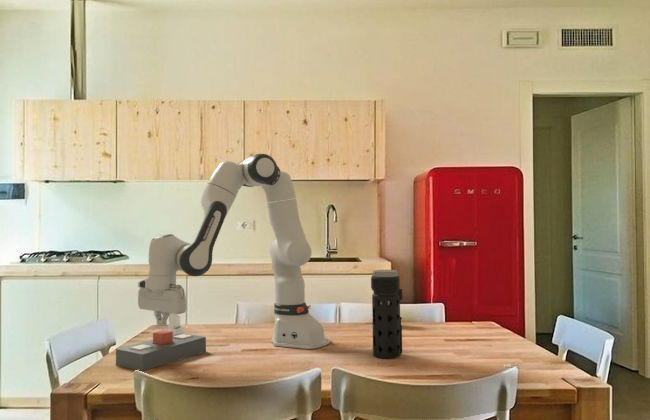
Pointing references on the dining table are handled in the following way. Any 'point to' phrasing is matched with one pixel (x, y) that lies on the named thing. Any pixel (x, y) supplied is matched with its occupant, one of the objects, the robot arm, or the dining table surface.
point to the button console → (160, 352)
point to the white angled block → (175, 324)
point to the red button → (162, 337)
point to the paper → (508, 365)
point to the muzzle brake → (386, 314)
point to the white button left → (141, 347)
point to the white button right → (182, 336)
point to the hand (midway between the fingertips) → (161, 325)
